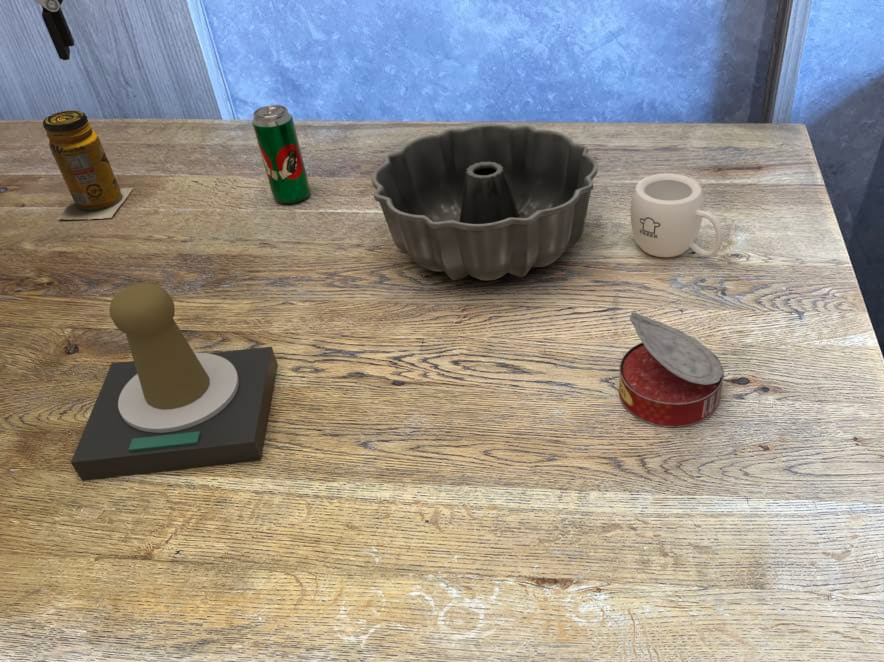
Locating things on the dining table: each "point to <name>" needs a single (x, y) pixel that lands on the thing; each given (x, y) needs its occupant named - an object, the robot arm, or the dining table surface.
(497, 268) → the bundt pan
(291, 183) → the soda can
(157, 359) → the cork
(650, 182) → the mug
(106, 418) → the scale
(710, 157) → the dining table surface
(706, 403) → the canned food
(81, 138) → the condiment
